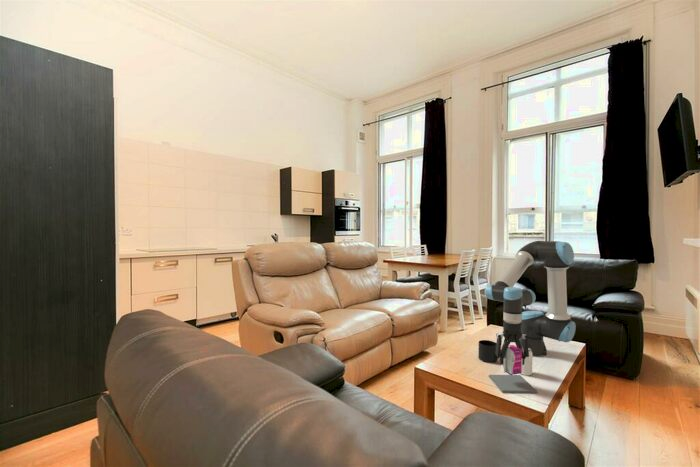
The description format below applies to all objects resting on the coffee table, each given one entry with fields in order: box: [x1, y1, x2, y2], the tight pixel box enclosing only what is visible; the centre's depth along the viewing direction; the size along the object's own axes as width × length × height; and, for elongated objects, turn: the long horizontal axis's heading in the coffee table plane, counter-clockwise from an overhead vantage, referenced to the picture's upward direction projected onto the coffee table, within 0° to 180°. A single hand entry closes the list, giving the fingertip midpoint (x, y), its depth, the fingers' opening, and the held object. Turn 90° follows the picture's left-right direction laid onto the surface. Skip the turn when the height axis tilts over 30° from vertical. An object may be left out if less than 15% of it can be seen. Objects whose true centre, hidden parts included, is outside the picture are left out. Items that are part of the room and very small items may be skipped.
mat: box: [488, 374, 538, 394], centre depth 149 cm, size 15×15×1 cm
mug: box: [478, 339, 499, 364], centre depth 176 cm, size 9×12×9 cm
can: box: [520, 347, 533, 377], centre depth 161 cm, size 6×6×12 cm
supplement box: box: [504, 344, 522, 375], centre depth 149 cm, size 6×6×12 cm
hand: (511, 371), depth 149 cm, fingers closed on supplement box, 7 cm apart
